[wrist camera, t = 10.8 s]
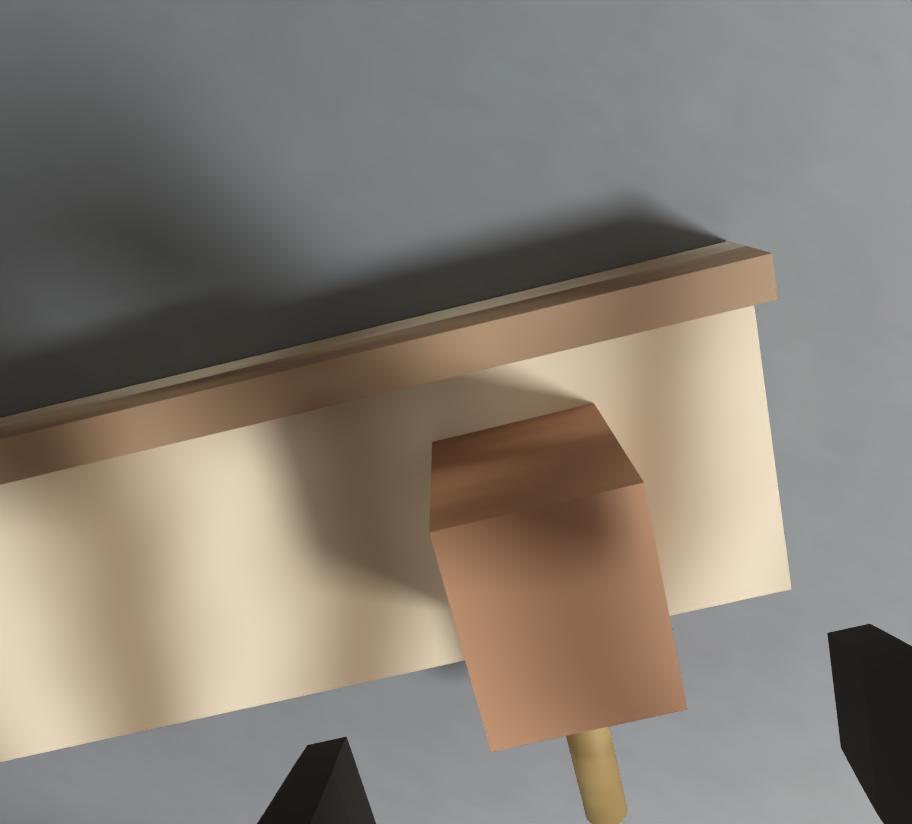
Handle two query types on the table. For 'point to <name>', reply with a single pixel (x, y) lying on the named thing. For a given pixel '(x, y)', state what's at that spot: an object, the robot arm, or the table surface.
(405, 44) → the table surface
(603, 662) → the brown wooden block
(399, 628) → the board
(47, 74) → the table surface
